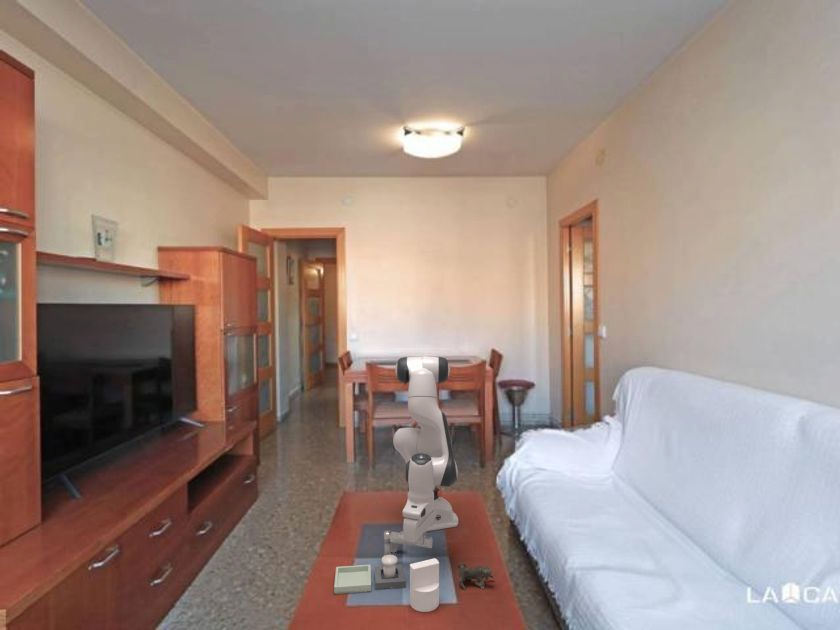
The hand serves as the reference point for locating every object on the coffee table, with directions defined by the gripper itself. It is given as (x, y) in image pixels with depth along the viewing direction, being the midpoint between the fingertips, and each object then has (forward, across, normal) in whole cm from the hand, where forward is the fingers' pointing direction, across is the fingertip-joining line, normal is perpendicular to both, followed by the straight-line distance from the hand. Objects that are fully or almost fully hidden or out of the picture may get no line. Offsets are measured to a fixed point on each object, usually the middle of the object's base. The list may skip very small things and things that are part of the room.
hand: (420, 543), depth 157 cm
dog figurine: (+10, 0, +20) cm, 22 cm away
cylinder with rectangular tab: (+10, +14, +7) cm, 19 cm away
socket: (+10, +5, -10) cm, 15 cm away
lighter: (+10, -8, -14) cm, 19 cm away
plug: (+10, +8, -8) cm, 15 cm away
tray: (+10, +14, -18) cm, 25 cm away
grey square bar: (+2, -1, -6) cm, 6 cm away
